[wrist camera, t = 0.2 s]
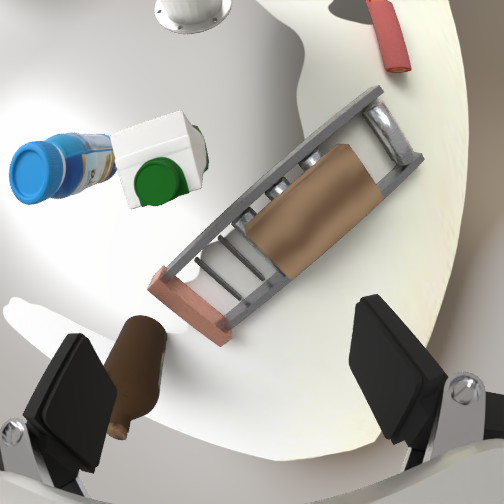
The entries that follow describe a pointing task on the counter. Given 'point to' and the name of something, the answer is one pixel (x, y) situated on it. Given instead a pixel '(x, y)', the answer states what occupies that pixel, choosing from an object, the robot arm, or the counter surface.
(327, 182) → the slab
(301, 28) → the counter surface
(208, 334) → the track
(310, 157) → the roller
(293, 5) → the counter surface
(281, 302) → the counter surface
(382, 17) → the artery
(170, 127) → the milk carton
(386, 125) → the roller
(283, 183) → the roller
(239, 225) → the roller
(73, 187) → the beverage bottle
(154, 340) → the olive oil
